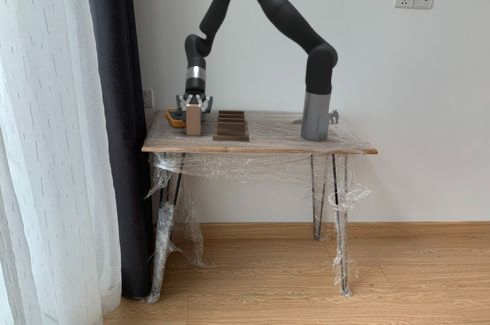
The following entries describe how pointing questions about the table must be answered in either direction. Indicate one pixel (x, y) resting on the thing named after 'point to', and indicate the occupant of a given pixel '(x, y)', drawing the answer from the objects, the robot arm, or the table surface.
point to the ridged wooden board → (231, 126)
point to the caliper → (334, 114)
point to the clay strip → (193, 119)
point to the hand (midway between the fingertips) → (193, 122)
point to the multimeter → (175, 117)
